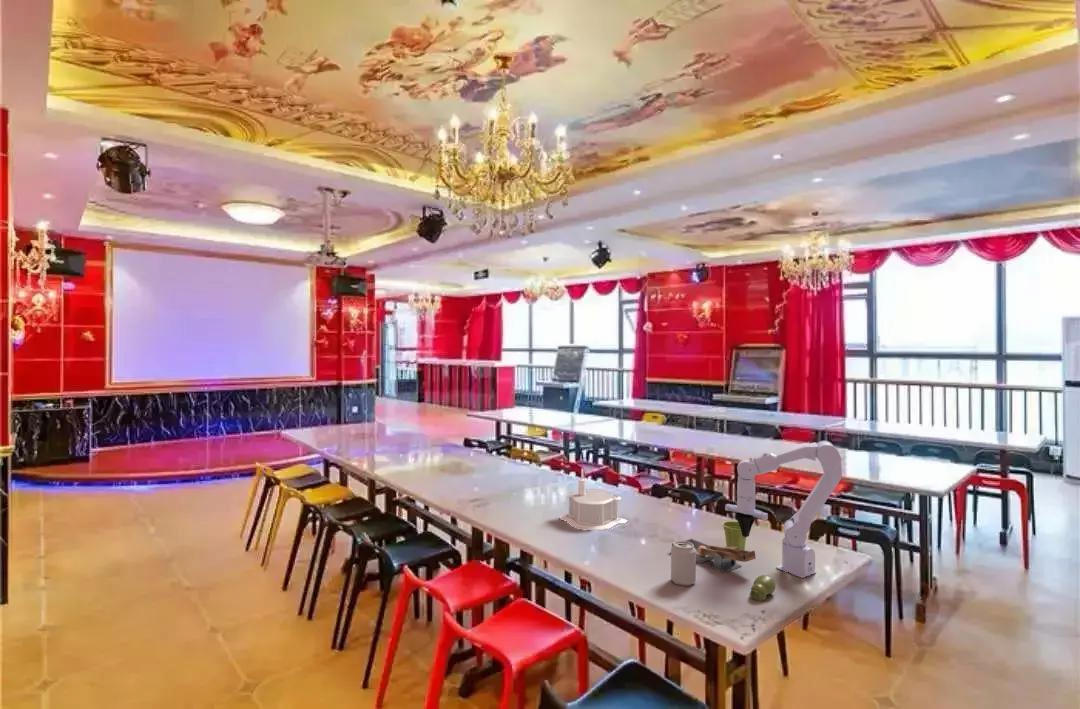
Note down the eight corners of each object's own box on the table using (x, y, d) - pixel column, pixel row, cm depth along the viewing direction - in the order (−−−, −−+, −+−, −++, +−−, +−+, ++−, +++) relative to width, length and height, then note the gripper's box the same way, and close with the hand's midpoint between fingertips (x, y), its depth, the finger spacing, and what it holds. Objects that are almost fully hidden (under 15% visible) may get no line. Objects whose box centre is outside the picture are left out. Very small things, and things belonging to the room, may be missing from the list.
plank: (770, 554, 183) (769, 546, 183) (744, 562, 176) (743, 554, 176) (726, 547, 198) (725, 540, 198) (700, 554, 191) (699, 547, 191)
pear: (778, 575, 165) (763, 590, 158) (779, 592, 166) (764, 608, 159) (760, 569, 169) (744, 584, 163) (761, 585, 170) (745, 601, 163)
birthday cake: (630, 513, 246) (631, 464, 246) (627, 534, 218) (627, 480, 218) (563, 508, 252) (564, 461, 252) (552, 529, 224) (552, 475, 224)
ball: (700, 550, 197) (707, 557, 194) (693, 552, 195) (700, 559, 192) (703, 542, 195) (711, 549, 193) (697, 544, 193) (704, 551, 191)
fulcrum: (741, 566, 186) (741, 552, 186) (723, 572, 181) (723, 558, 181) (726, 560, 191) (726, 547, 191) (708, 566, 186) (708, 552, 186)
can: (691, 576, 177) (691, 539, 177) (698, 587, 170) (699, 548, 170) (668, 577, 177) (668, 539, 177) (674, 587, 170) (674, 548, 169)
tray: (718, 557, 194) (718, 548, 194) (698, 563, 189) (698, 554, 189) (691, 546, 204) (691, 538, 204) (671, 551, 199) (671, 543, 199)
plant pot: (716, 545, 205) (716, 522, 205) (737, 542, 208) (737, 519, 208) (733, 554, 196) (733, 530, 196) (755, 551, 200) (755, 527, 200)
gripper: (772, 498, 185) (772, 539, 185) (733, 489, 196) (732, 528, 196) (761, 502, 180) (761, 544, 181) (722, 493, 192) (721, 532, 192)
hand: (745, 536), depth 188 cm, fingers closed
